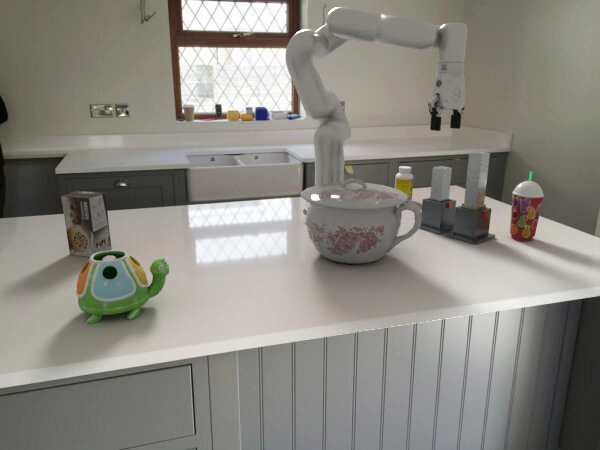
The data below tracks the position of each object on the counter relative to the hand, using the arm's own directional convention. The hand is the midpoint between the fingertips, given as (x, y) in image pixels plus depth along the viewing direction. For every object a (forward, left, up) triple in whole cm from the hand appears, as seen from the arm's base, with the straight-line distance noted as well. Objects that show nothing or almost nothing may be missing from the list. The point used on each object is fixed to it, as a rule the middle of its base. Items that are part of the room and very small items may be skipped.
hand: (445, 129), depth 149 cm
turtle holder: (-98, +4, -31) cm, 103 cm away
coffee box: (-93, +42, -31) cm, 107 cm away
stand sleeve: (0, 0, -31) cm, 31 cm away
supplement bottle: (+19, +30, -31) cm, 47 cm away
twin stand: (0, -12, -31) cm, 33 cm away
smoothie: (+11, -22, -31) cm, 39 cm away
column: (0, 0, -29) cm, 29 cm away
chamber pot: (-39, -2, -31) cm, 50 cm away
